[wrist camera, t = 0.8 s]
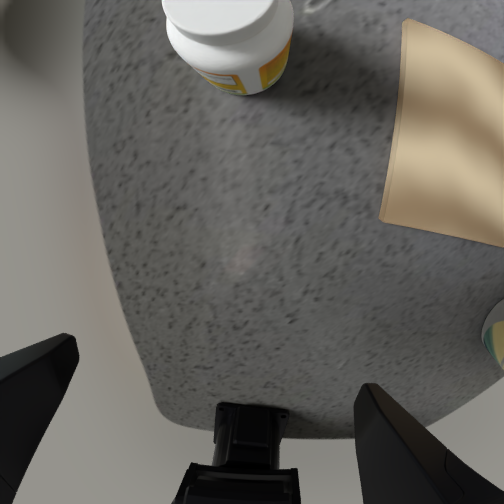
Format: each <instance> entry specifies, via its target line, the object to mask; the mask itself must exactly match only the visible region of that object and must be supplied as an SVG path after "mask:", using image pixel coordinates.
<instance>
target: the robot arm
mask: <svg viewBox="0 0 504 504" xmlns="http://www.w3.org/2000/svg"><path fill="white" fill-rule="evenodd" d="M78 362H79V352H78V347H77V342H76V338H75V337H74V336H73V335H70V334H67V333H61V334H59V335H56V336H54V337H51V338H49V339H46V340H44V341H41V342H39V343H36V344H33V345H31V346H28V347H26V348H23V349H20V350H18V351H15V352H13V353H10V354H8V355H5V356H2V357H0V504H12V503H13V500H14V498H15V495H16V492H17V490H18V488H19V486H20V484H21V481H22V479H23V477H24V475H25V472H26V470H27V468H28V466H29V464H30V462H31V459H32V458H33V456H34V453H35V451H36V449H37V447H38V445H39V443H40V441H41V439H42V437H43V435H44V433H45V431H46V429H47V428H48V426H49V424H50V422H51V420H52V418H53V416H54V414H55V412H56V411H57V409H58V407H59V405H60V403H61V401H62V399H63V397H64V395H65V393H66V391H67V388H68V386H69V383H70V381H71V379H72V376H73V374H74V372H75V369H76V367H77V365H78ZM288 418H289V412H288V411H287V410H279V409H268V408H259V407H251V406H243V405H235V404H228V403H218V404H217V407H216V416H215V429H214V443H215V444H216V445H215V451H214V456H213V462H212V466H209V465H200V464H198V463H192V462H191V464H190V466H189V469H187V470H186V473H185V475H184V478H183V480H182V483H181V485H180V487H179V490H178V492H177V495H176V497H175V499H174V500H173V502H172V503H171V504H301V497H300V489H299V488H300V487H299V478H298V469H297V468H291V469H279V445H280V442H281V439H282V436H283V433H284V430H285V428H286V425H287V422H288ZM354 425H355V446H356V455H357V461H358V468H359V475H360V481H361V487H362V488H361V489H362V495H363V503H364V504H504V491H502V490H501V489H499V488H498V487H496V486H495V485H494V484H492V483H491V482H489V481H488V480H487V479H485V478H484V477H482V476H481V475H479V474H478V473H477V472H475V471H474V470H473V469H471V468H470V467H469V466H468V465H466V464H465V463H464V462H463V461H462V460H460V459H459V458H458V457H457V456H456V455H455V454H453V453H452V452H451V451H450V450H449V449H447V448H446V447H445V446H444V445H443V444H442V443H441V442H440V441H439V440H438V439H437V438H436V437H435V436H433V435H432V434H431V433H430V432H429V431H428V430H427V429H426V428H425V427H424V426H422V425H421V424H420V423H419V422H418V421H417V420H416V419H415V418H414V417H413V416H412V415H410V414H409V413H408V412H407V411H406V410H405V409H404V408H403V407H402V406H401V405H400V404H398V403H397V402H396V401H395V400H394V399H393V398H392V397H391V396H390V395H389V394H388V393H386V392H385V391H384V390H383V389H382V388H381V387H380V386H379V385H378V384H376V383H364V384H363V385H362V387H361V389H360V391H359V393H358V395H357V398H356V400H355V402H354Z"/></svg>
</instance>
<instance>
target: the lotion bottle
mask: <svg viewBox="0 0 504 504" xmlns="http://www.w3.org/2000/svg"><path fill="white" fill-rule="evenodd" d="M481 337H482V342H483V344H484V346H485V347H486V348H487V350H488V351H489V352H490V354H491V355H492V356H493V357H494V359H495V360H496V361H497V362H498V364H499V365H500V366H501V368H502V369H503V370H504V299H503V300H501V301H500V302H499V303H498V304H497V305H496V306H495V307H494V308H493V309H492V310H491V312H490V313H489V314H488V316H487V318H486V320H485V322H484V325H483V328H482V335H481Z"/></svg>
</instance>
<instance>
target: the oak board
mask: <svg viewBox="0 0 504 504" xmlns="http://www.w3.org/2000/svg"><path fill="white" fill-rule="evenodd" d="M379 219H380V220H381V221H383V222H385V223H391V224H396V225H401V226H407V227H412V228H417V229H422V230H427V231H431V232H436V233H441V234H446V235H450V236H455V237H460V238H464V239H469V240H473V241H477V242H482V243H486V244H490V245H495V246H499V247H503V248H504V63H502V62H500V61H499V60H497V59H495V58H493V57H492V56H490V55H488V54H486V53H484V52H483V51H481V50H479V49H477V48H475V47H473V46H471V45H469V44H467V43H465V42H463V41H461V40H459V39H457V38H455V37H453V36H451V35H448V34H446V33H444V32H442V31H439V30H437V29H435V28H432V27H430V26H427V25H425V24H422V23H420V22H417V21H414V20H412V19H409V18H407V19H406V20H405V21H404V22H402V46H401V64H400V78H399V90H398V100H397V109H396V118H395V126H394V133H393V141H392V147H391V154H390V160H389V166H388V172H387V178H386V183H385V189H384V194H383V199H382V204H381V209H380V214H379Z"/></svg>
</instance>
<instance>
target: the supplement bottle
mask: <svg viewBox="0 0 504 504" xmlns="http://www.w3.org/2000/svg"><path fill="white" fill-rule="evenodd" d="M162 6H163V9H164V12H165V14H166V16H167V22H166V23H167V33H168V37H169V40H170V42H171V44H172V46H173V48H174V49H175V50H176V52H177V53H178V54H179V55H180V56H181V57H182V58H183V59H184V60H185V61H186V62H187V63H188V64H189V65H190V66H192V67H193V68H194V69H195V70H196V71H197V72H198V73H199V74H200V75H201V76H203V77H204V78H205V79H206V80H207V81H208V82H209V83H210V84H212V85H213V86H214V87H216V88H217V89H219V90H221V91H223V92H226V93H229V94H234V95H250V94H255V93H258V92H261V91H263V90H265V89H267V88H269V87H270V86H271V85H273V84H274V83H275V82H276V81H277V80H278V79H279V78H280V76H281V75H282V73H283V72H284V69H285V67H286V64H287V60H288V54H289V48H290V43H291V37H292V31H293V25H294V14H293V8H292V4H291V2H290V0H162Z"/></svg>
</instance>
